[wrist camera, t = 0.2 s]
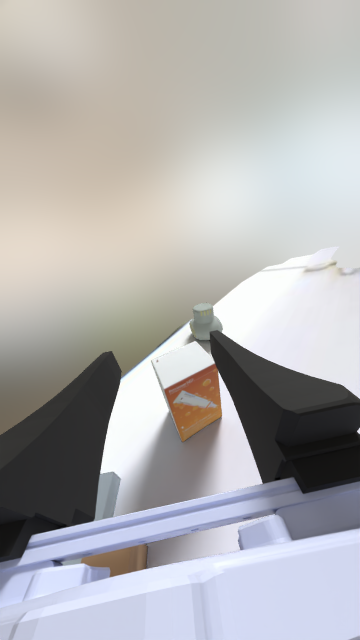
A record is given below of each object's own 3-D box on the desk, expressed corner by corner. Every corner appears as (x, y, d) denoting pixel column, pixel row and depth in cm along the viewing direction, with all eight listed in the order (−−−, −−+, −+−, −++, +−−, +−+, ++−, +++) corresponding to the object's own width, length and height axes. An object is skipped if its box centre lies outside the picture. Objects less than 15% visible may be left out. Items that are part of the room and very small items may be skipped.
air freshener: (226, 339, 44) (224, 309, 40) (199, 347, 43) (194, 317, 39) (211, 323, 54) (208, 297, 49) (189, 330, 53) (184, 304, 48)
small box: (182, 444, 24) (162, 390, 18) (168, 409, 29) (149, 359, 23) (223, 416, 26) (218, 361, 20) (203, 389, 31) (194, 339, 25)
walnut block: (140, 646, 12) (116, 656, 10) (87, 653, 12) (52, 665, 10) (147, 546, 16) (132, 537, 14) (107, 552, 16) (85, 544, 14)
